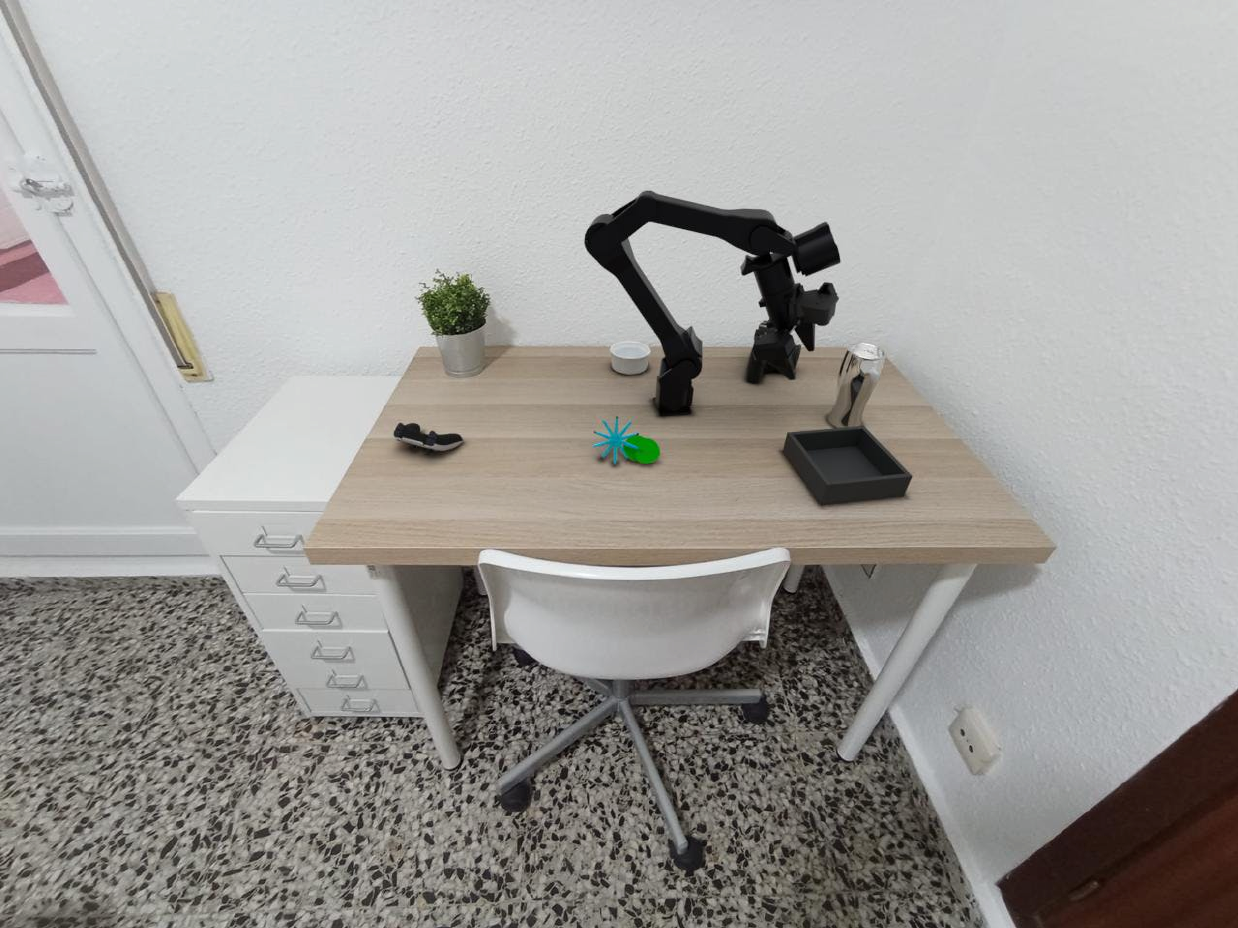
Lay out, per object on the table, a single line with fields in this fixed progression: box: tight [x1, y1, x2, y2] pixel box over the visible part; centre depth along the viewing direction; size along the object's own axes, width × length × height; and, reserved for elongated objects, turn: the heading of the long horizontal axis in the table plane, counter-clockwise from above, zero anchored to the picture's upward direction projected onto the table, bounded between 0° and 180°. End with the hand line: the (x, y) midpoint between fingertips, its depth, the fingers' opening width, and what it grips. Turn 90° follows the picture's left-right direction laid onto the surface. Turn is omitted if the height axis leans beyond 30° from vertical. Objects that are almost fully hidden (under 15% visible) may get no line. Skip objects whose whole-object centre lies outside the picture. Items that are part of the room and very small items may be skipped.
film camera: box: [745, 319, 802, 384], centre depth 120 cm, size 18×12×10 cm
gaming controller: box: [392, 422, 464, 454], centre depth 95 cm, size 11×4×7 cm
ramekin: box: [609, 340, 651, 376], centre depth 121 cm, size 9×9×4 cm
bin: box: [782, 425, 914, 506], centre depth 92 cm, size 15×15×4 cm
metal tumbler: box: [827, 342, 887, 428], centre depth 102 cm, size 7×7×15 cm
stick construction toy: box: [592, 415, 661, 465], centre depth 96 cm, size 12×7×8 cm
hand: (802, 364), depth 100 cm, fingers open, 9 cm apart
